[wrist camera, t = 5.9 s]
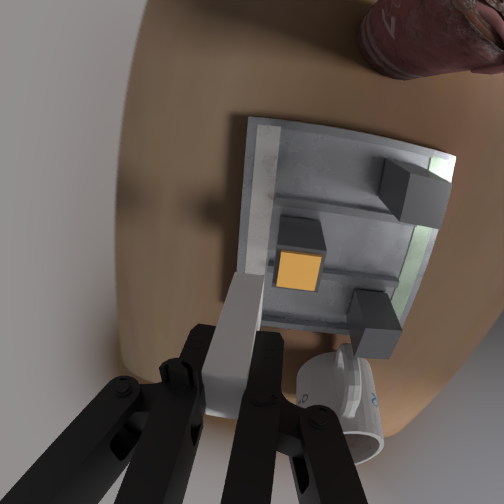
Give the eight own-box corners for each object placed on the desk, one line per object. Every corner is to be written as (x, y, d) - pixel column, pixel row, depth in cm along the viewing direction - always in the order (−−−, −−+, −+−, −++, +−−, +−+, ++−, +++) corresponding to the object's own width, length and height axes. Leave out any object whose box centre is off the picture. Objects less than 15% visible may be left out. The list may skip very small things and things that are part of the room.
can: (373, 90, 19) (475, 76, 7) (344, 15, 17) (401, -78, 4) (439, 78, 17) (567, 75, 5) (412, 7, 15) (512, -57, 3)
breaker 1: (355, 289, 25) (365, 328, 20) (387, 293, 24) (402, 330, 20) (346, 317, 26) (353, 357, 22) (377, 320, 26) (388, 359, 21)
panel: (250, 116, 21) (246, 117, 19) (447, 153, 20) (460, 158, 18) (236, 306, 29) (232, 321, 27) (395, 323, 28) (401, 338, 26)
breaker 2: (385, 158, 20) (410, 173, 15) (421, 166, 19) (452, 183, 15) (378, 197, 21) (399, 222, 17) (413, 204, 21) (440, 229, 16)
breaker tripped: (280, 215, 23) (276, 246, 18) (320, 221, 22) (327, 253, 18) (275, 252, 24) (271, 289, 19) (313, 257, 24) (318, 295, 19)
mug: (353, 401, 34) (360, 469, 25) (288, 393, 34) (283, 465, 25) (397, 331, 28) (422, 408, 19) (320, 318, 28) (326, 403, 20)
